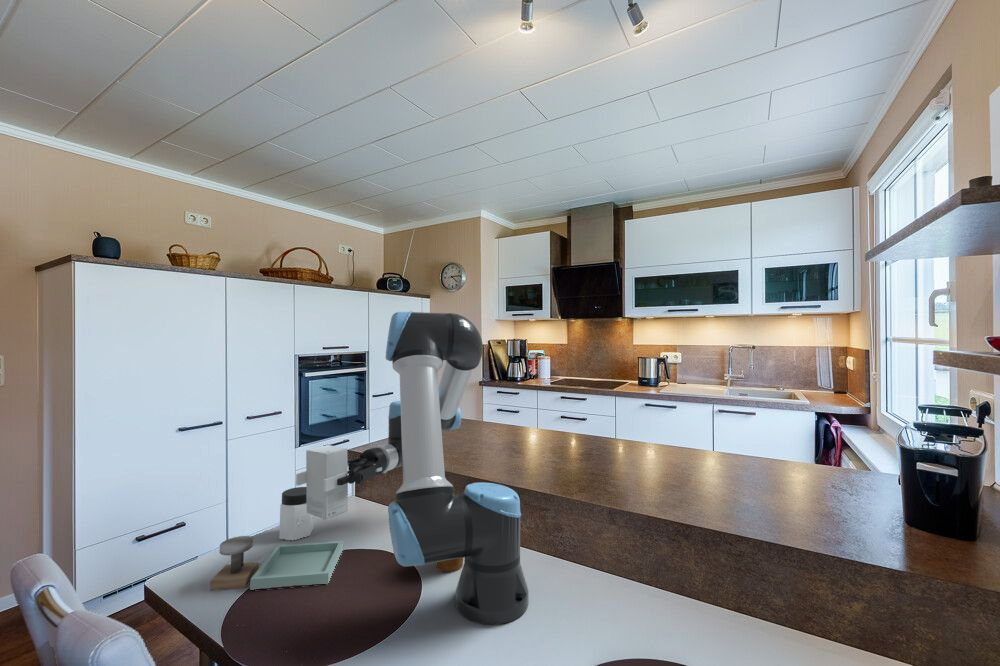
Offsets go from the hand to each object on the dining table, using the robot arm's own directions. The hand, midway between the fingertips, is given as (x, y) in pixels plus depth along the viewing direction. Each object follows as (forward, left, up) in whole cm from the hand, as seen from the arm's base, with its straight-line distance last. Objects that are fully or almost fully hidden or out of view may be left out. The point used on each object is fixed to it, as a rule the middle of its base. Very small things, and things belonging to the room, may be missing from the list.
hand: (310, 482), depth 97 cm
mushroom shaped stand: (-1, +15, -21) cm, 26 cm away
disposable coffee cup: (-2, -33, -21) cm, 39 cm away
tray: (+2, +2, -21) cm, 21 cm away
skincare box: (+4, -3, -9) cm, 10 cm away
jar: (+22, +9, -21) cm, 32 cm away
